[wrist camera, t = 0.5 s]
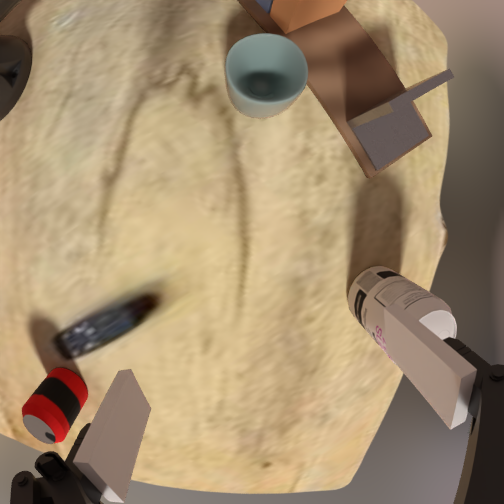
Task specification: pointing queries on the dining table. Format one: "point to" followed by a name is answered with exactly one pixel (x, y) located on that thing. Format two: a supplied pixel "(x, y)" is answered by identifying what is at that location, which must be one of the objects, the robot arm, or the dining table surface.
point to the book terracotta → (302, 12)
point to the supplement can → (405, 295)
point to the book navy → (266, 4)
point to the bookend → (394, 123)
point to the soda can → (54, 406)
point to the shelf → (341, 71)
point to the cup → (265, 74)
